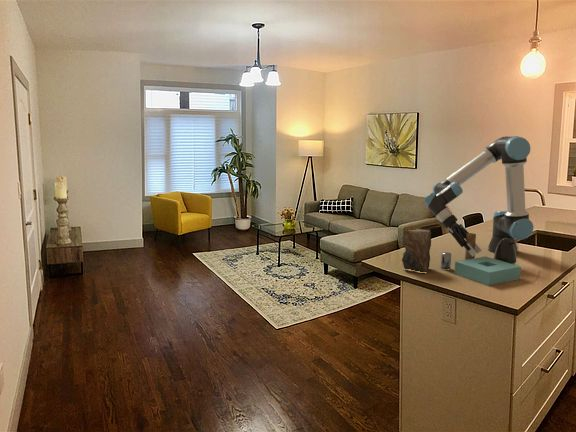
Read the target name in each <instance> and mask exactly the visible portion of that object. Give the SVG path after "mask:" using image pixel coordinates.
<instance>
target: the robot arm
mask: <svg viewBox="0 0 576 432" xmlns="http://www.w3.org/2000/svg"><path fill="white" fill-rule="evenodd" d="M530 153H531V144H530V142H529V141H528V140H527V139H526V138H524V137H522V136H519V135H518V136H502V137H500V138H497V139H495V141H493V142H491V143H490V144H489V145H487V146H486V147H485V148H483V149H482V152H481V153H479V154H477V156H475V157H474V158H472V159H471V160H470V161H469V162H467V163H465V164H464V165H463V166H461V167H460V168H459V169H457V170H456V171H455V172H452V174H450V175H449V176H448V177H446V178H445V179H444V180H442V181H441V182H436V183H435V184H434V185H433V187H432V192H430V193H428V195H426V196H425V197H424V198H423V203H424V204H425V205H426V207H427V209H428V210H429V211H430V212H431V213H432V215H434V216H435V218H436V220H437V221H439V222H440V223H441V224H442V226H443V227H444V228H445V229H448V228H449V230H448V232H449V233H450V234H451V236H452V237H453V239H455V241H456V242H457V243H458V245H459V246H460V247H461V248H463V247H464V249H465V251H466V250H467V251H468V252H469V253H470V254H471V256H472V257H473V256H474V255H475V256H476V255H477V254H479V253H480V252H482V251H483V250H482V248H481V247H480V246H479V245H478V244H477V243H475V250H474V249H473V248H472V247H471V246H470V244H469V243H467V242H466V234H467V233H470V232H469V231H468V230H467V229H466V228H465V227H464V226H463V224H461V223H460V224H458V223H457V221H458V218H457V216H455V215H454V214H453V212H452V211H451V210H450V208H448V207H447V205H448V204H449V203H451V202H452V201H454V200H455V199H457V198H458V197H460V195H462V194H463V193H464V190H463V187H461V185H463V184H464V183H466V182H468V180H470V179H471V178H472V177H474V176H475V175H477V174H479V173H480V172H481V171H482V170H484V169H485V168H486V167H488V166H489V165H491V164H495V163H496V162H498V161H501V164H502V165H503V167H505V168H504V169H505V188H506V202H507V203H506V208H507V210H499V211H498V210H497V211H494V213H493V217H492V236H491V239H490V242H489V244H488V246H487V250H488V251H489V252H491V253H495V251H496V248H497V246H498V244H499V242H500V241H501V240H502V239H503V238H509V239H510V240H511V241H512V242H515V244H514V247H515V252H516V254H517V253H518V246H517V242H516V240H526V239H527V238H529V237H530V236H532V234H533V232H534V224H533V222H532V221H531V219H530V213H529V211H527V209H526V197H525V196H526V195H525V192H526V191H525V173H524V171H525V167H524V165H525V164H526V163H527V162H528V160H527V159H528V156H529V155H530Z"/></svg>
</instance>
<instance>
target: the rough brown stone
mask: <svg viewBox="0 0 576 432" xmlns="http://www.w3.org/2000/svg"><path fill="white" fill-rule="evenodd" d="M431 234H432V230H431V229H422V228H417V229H413V230H412V229H407V230H406V235H405V237H404V241H403V247H404V248H405V249H404V252H403V253H402V258H401V261H402V263H403V264H402V265H403V269H404V268H405V269H411V270H415V271H420V272H427V273H428V271H429V267H430V263H431V255H430V253H431V252H430V250H431V246H432V235H431ZM427 270H428V271H427Z"/></svg>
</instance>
